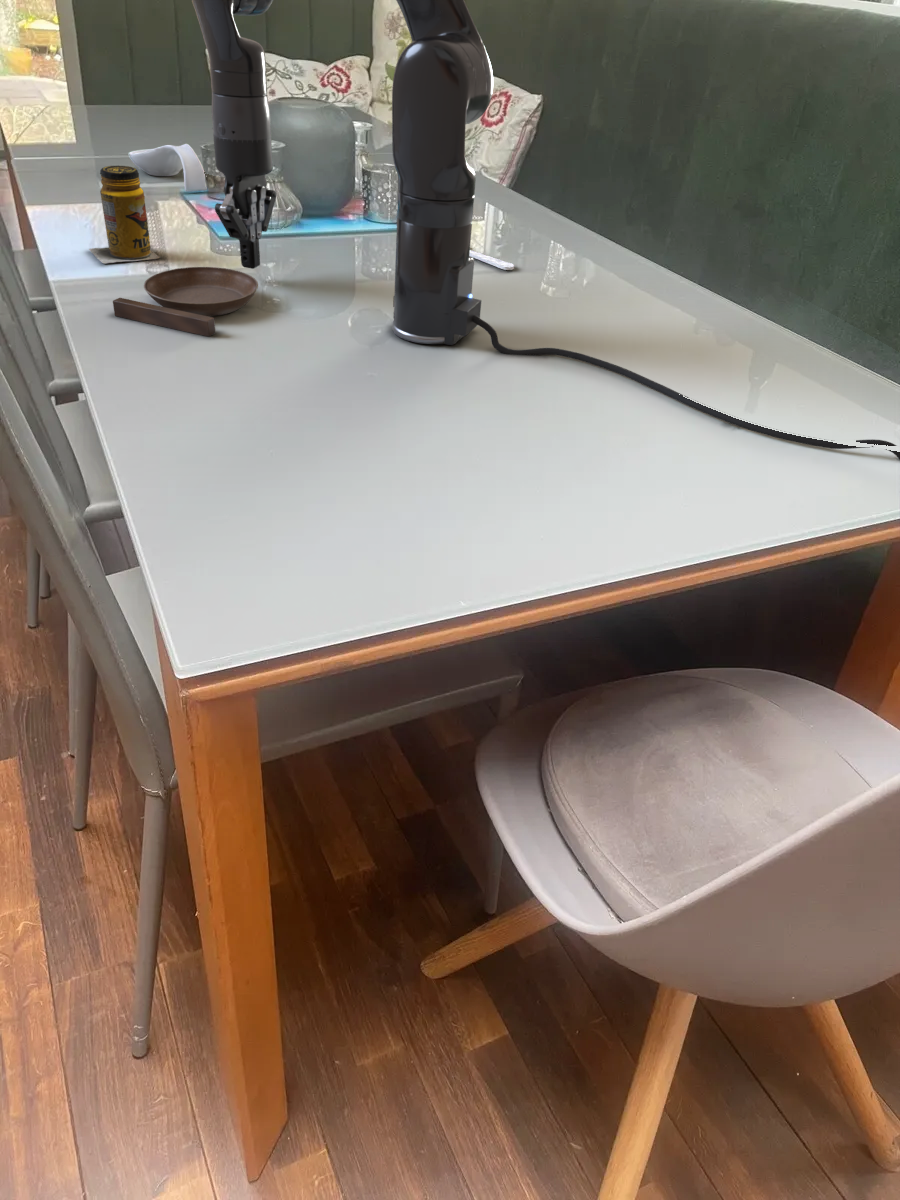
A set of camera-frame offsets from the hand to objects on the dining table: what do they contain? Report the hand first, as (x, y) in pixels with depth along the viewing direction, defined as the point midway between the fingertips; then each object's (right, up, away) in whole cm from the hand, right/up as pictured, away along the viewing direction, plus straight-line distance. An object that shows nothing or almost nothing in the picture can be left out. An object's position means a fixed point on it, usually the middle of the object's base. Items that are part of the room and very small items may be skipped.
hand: (251, 266), depth 128 cm
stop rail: (-8, -13, -15) cm, 21 cm away
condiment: (-21, +4, +7) cm, 22 cm away
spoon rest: (-26, +35, +48) cm, 65 cm away
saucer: (-5, -8, -7) cm, 12 cm away
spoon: (+32, +9, +20) cm, 39 cm away
